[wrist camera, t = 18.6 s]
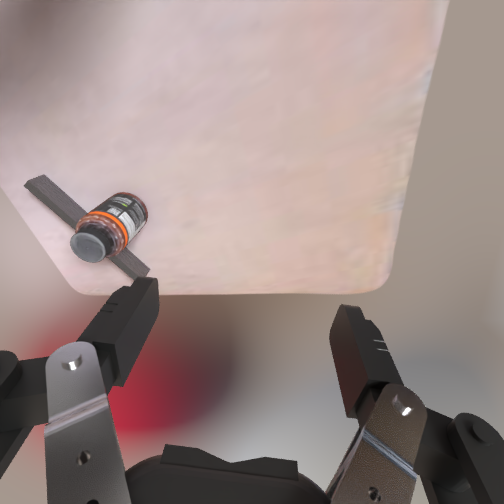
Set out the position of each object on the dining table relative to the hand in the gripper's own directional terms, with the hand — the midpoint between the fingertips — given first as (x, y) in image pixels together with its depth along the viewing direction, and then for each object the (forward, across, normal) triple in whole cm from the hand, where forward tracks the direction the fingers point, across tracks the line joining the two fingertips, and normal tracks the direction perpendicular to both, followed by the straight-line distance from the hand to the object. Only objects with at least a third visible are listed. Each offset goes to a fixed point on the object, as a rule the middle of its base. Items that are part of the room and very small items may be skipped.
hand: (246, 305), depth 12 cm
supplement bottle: (+28, +19, +10) cm, 35 cm away
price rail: (+28, +24, +14) cm, 39 cm away
